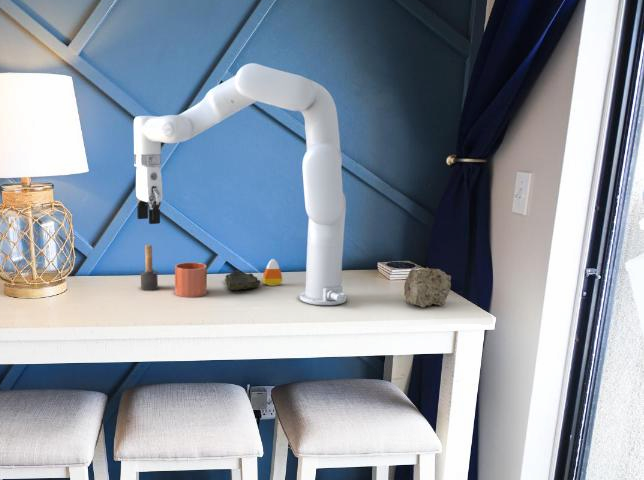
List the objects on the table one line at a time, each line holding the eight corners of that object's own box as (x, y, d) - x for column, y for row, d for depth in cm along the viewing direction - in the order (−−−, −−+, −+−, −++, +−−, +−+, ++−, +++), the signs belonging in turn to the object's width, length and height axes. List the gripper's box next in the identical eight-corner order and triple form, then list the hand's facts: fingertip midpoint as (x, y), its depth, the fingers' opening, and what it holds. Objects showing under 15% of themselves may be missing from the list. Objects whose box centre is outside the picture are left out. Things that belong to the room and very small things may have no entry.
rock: (397, 275, 177) (412, 263, 167) (441, 278, 177) (458, 266, 168) (399, 313, 173) (415, 303, 164) (444, 316, 174) (462, 306, 165)
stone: (219, 272, 199) (249, 266, 200) (221, 285, 200) (251, 280, 201) (230, 282, 181) (264, 275, 182) (232, 296, 181) (266, 290, 182)
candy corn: (281, 283, 193) (282, 257, 191) (283, 285, 191) (283, 259, 189) (261, 283, 193) (262, 258, 191) (263, 286, 190) (263, 260, 188)
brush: (160, 289, 187) (159, 246, 184) (144, 291, 185) (143, 247, 182) (154, 285, 192) (153, 243, 189) (138, 287, 190) (137, 244, 187)
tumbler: (211, 294, 181) (211, 267, 179) (182, 298, 178) (182, 270, 176) (198, 287, 189) (198, 261, 187) (170, 291, 186) (170, 264, 184)
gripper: (171, 162, 174) (171, 224, 178) (149, 158, 189) (150, 216, 193) (145, 163, 171) (146, 226, 175) (125, 159, 186) (126, 217, 190)
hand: (148, 221), depth 184 cm, fingers open, 9 cm apart
